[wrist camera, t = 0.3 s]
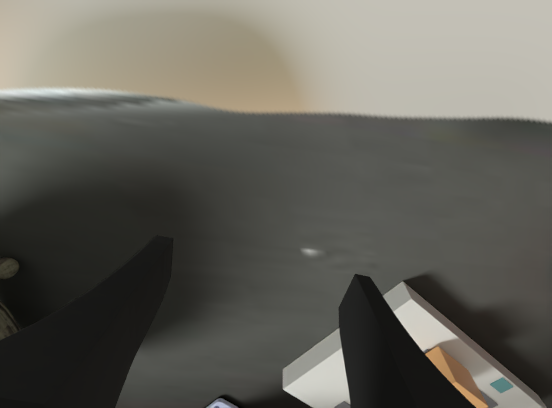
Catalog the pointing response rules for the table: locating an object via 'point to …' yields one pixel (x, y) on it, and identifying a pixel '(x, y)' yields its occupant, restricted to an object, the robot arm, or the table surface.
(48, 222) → the table surface
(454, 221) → the table surface
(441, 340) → the switch panel
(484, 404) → the orange small block
